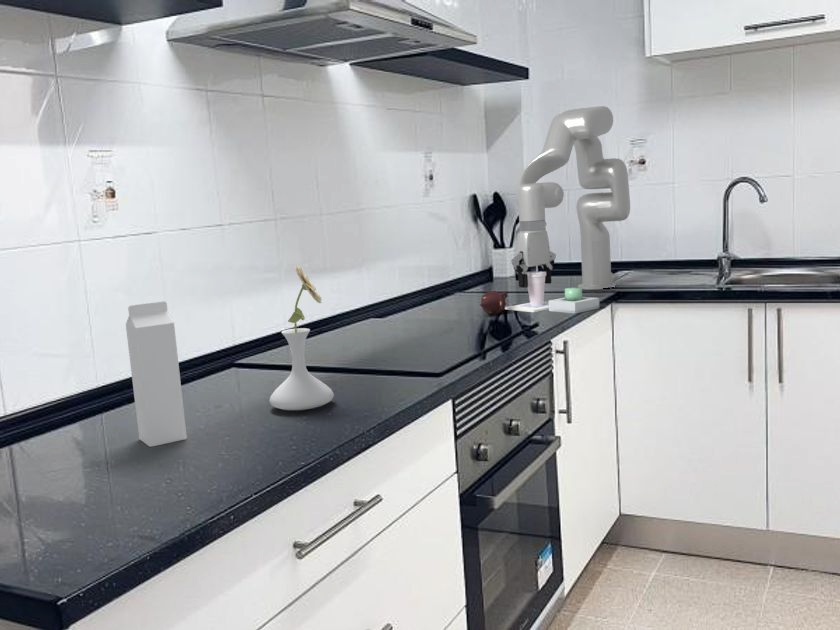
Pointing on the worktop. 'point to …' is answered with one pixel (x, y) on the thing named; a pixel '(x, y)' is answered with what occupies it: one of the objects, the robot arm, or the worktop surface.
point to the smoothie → (536, 287)
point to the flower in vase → (300, 366)
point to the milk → (155, 374)
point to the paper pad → (529, 307)
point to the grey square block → (574, 305)
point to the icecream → (493, 302)
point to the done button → (573, 294)
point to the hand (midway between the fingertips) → (535, 285)
